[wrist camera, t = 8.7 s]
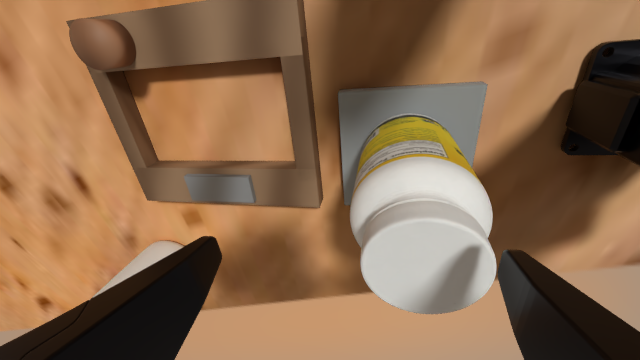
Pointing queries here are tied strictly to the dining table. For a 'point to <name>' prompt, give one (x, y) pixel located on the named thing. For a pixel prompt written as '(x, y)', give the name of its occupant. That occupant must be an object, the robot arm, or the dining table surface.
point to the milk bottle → (144, 261)
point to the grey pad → (384, 102)
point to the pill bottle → (421, 218)
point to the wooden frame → (198, 48)
